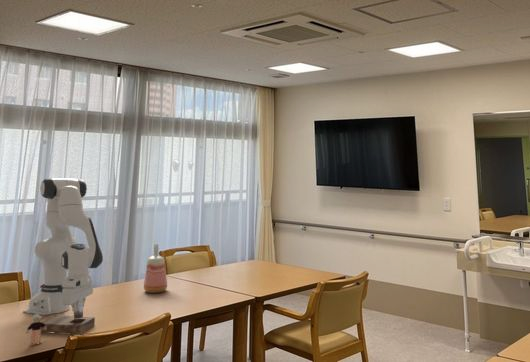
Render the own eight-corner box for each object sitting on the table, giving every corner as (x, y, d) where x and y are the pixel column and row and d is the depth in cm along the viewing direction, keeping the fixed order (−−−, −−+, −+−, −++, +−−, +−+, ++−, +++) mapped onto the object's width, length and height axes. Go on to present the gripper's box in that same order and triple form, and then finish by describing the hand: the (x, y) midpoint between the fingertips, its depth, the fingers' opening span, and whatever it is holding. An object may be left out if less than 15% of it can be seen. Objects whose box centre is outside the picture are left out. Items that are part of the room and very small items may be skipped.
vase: (145, 288, 270) (146, 242, 270) (168, 288, 272) (169, 242, 272) (141, 294, 256) (142, 246, 256) (165, 294, 257) (166, 246, 258)
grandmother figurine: (28, 347, 172) (28, 317, 172) (24, 345, 175) (25, 315, 175) (47, 342, 178) (48, 313, 178) (44, 340, 181) (44, 311, 181)
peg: (71, 318, 193) (72, 296, 193) (76, 315, 197) (76, 294, 197) (80, 318, 192) (80, 296, 192) (84, 315, 196) (84, 294, 196)
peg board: (39, 332, 190) (39, 323, 190) (55, 323, 202) (55, 315, 202) (80, 334, 188) (80, 325, 188) (94, 325, 200) (94, 317, 200)
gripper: (84, 274, 205) (84, 302, 205) (59, 284, 185) (58, 315, 185) (96, 274, 204) (96, 303, 204) (72, 284, 184) (72, 316, 184)
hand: (78, 309), depth 194 cm, fingers closed on peg, 4 cm apart
